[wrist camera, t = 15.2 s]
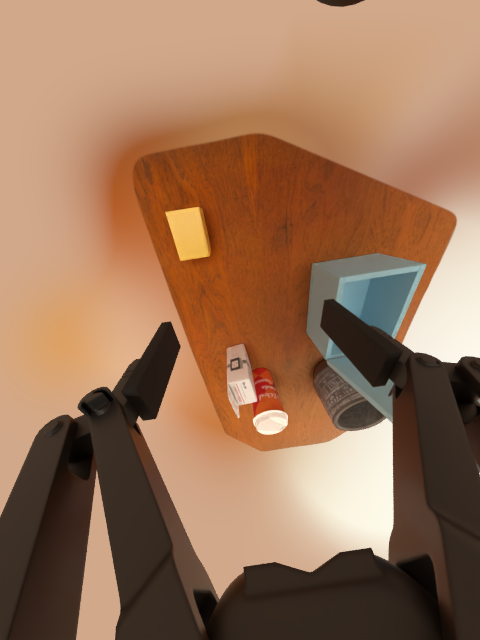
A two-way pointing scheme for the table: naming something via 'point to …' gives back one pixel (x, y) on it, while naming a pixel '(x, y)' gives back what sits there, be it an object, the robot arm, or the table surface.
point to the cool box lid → (366, 387)
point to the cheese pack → (189, 233)
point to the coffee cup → (267, 404)
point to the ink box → (239, 378)
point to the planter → (343, 401)
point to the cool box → (362, 293)
